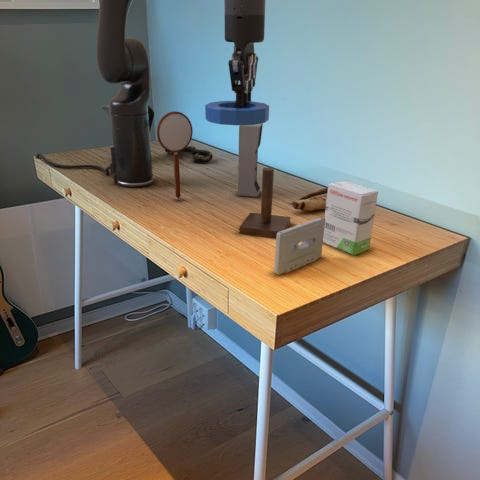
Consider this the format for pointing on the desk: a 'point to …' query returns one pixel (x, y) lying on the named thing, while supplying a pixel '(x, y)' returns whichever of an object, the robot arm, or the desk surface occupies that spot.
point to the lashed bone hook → (311, 201)
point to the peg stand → (265, 213)
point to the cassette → (299, 255)
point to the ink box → (349, 216)
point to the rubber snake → (197, 154)
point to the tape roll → (236, 113)
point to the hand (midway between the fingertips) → (243, 112)
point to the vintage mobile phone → (248, 159)
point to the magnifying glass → (175, 139)
